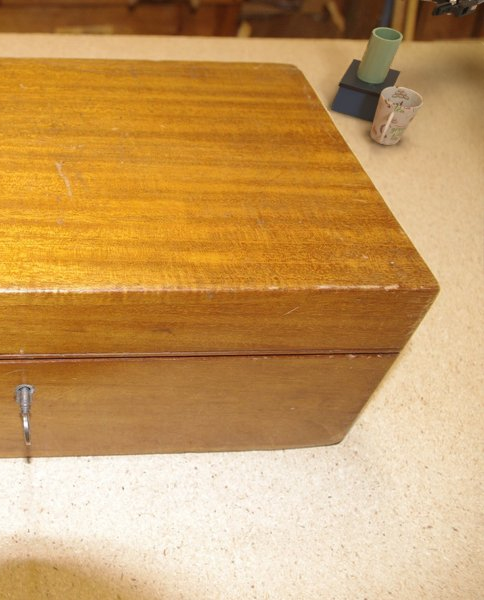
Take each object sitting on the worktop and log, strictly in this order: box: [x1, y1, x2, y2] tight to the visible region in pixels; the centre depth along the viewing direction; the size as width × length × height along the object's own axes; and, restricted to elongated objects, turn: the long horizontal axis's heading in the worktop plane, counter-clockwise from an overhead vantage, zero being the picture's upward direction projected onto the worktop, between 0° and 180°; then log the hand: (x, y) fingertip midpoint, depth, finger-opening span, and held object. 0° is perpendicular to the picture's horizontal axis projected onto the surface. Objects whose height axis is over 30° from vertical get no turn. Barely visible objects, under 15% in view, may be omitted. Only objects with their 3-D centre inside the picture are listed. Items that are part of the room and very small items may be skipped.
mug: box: [369, 86, 424, 146], centre depth 149 cm, size 8×13×10 cm, turn 149°
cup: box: [356, 26, 404, 84], centre depth 154 cm, size 6×6×10 cm
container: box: [331, 58, 401, 123], centre depth 161 cm, size 11×13×7 cm
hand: (417, 3), depth 149 cm, fingers open, 8 cm apart
